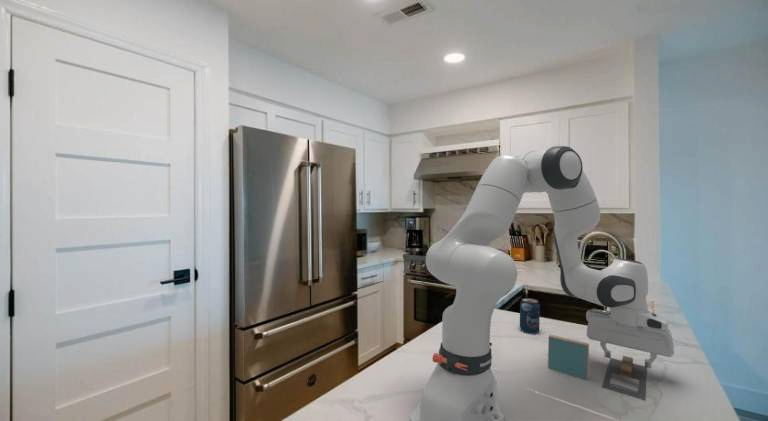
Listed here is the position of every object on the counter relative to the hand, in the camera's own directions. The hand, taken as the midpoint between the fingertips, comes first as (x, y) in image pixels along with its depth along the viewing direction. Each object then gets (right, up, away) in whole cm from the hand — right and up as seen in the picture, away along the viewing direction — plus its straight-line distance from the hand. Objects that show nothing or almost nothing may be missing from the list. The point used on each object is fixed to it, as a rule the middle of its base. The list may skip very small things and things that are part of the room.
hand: (627, 361), depth 95 cm
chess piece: (+41, -3, +41) cm, 58 cm away
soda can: (-15, -3, +31) cm, 34 cm away
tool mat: (-3, -3, -3) cm, 5 cm away
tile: (-18, -3, -1) cm, 18 cm away
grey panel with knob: (-3, -3, -3) cm, 5 cm away
